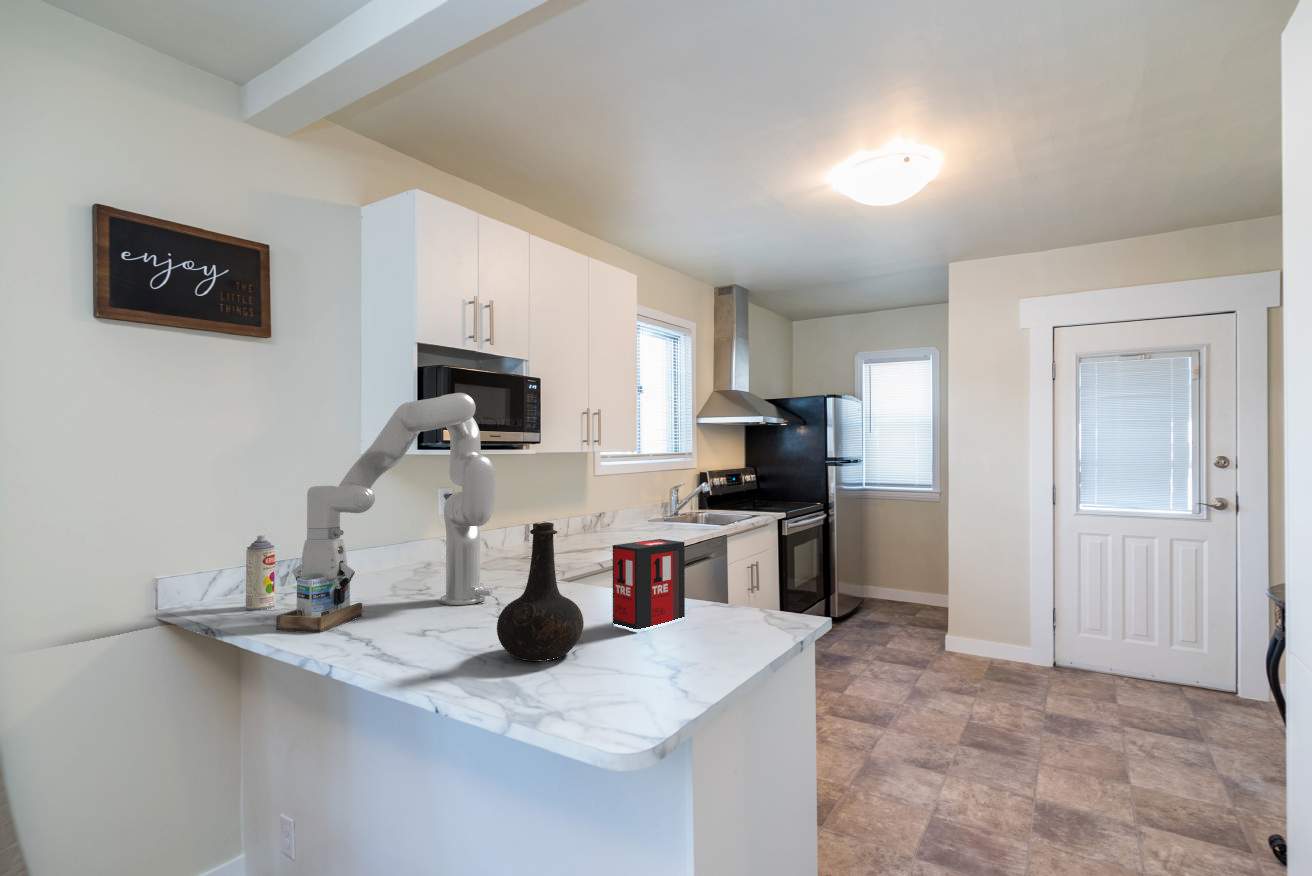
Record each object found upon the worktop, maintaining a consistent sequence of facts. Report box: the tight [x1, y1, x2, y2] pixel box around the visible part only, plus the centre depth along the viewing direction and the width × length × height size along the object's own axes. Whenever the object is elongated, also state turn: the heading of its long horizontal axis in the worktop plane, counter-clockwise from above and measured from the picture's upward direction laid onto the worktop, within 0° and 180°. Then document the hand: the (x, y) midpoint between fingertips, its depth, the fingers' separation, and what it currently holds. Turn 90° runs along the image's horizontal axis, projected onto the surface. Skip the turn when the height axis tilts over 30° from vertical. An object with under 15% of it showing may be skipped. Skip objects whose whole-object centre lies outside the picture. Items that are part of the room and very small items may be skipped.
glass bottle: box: [496, 521, 585, 661], centre depth 137 cm, size 18×18×28 cm
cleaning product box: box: [612, 538, 686, 629], centre depth 162 cm, size 16×9×20 cm, turn 134°
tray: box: [275, 602, 363, 633], centre depth 163 cm, size 12×16×4 cm
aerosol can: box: [245, 534, 276, 611], centre depth 180 cm, size 7×7×20 cm
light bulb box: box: [296, 575, 351, 617], centre depth 164 cm, size 11×7×11 cm, turn 149°
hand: (323, 602), depth 164 cm, fingers closed on light bulb box, 8 cm apart
